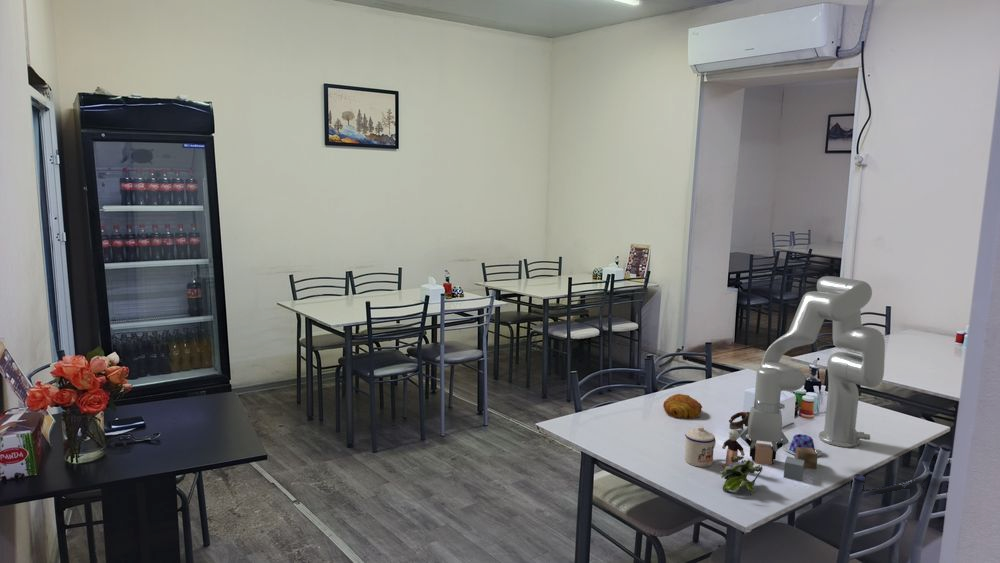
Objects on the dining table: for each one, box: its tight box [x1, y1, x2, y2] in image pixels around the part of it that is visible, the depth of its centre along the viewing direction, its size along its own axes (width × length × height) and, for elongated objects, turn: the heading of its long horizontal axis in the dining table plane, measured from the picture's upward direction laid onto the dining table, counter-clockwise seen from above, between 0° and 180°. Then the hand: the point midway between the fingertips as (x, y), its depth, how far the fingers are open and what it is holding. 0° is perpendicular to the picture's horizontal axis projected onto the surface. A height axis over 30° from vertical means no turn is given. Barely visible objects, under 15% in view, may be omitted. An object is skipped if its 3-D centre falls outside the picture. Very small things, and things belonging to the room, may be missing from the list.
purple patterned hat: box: [782, 433, 823, 457], centre depth 216 cm, size 12×12×5 cm
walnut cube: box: [794, 447, 819, 470], centre depth 204 cm, size 5×5×5 cm
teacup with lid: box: [684, 425, 717, 468], centre depth 206 cm, size 12×9×12 cm
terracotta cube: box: [753, 442, 773, 466], centre depth 207 cm, size 5×5×5 cm
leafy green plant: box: [719, 455, 763, 496], centre depth 187 cm, size 11×11×12 cm
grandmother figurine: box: [721, 429, 745, 468], centre depth 201 cm, size 8×4×13 cm, turn 47°
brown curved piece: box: [728, 411, 750, 431], centre depth 233 cm, size 12×10×8 cm
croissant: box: [662, 393, 703, 420], centre depth 250 cm, size 14×16×8 cm
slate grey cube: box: [783, 456, 805, 482], centre depth 196 cm, size 5×5×5 cm
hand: (762, 459), depth 207 cm, fingers closed on terracotta cube, 5 cm apart
